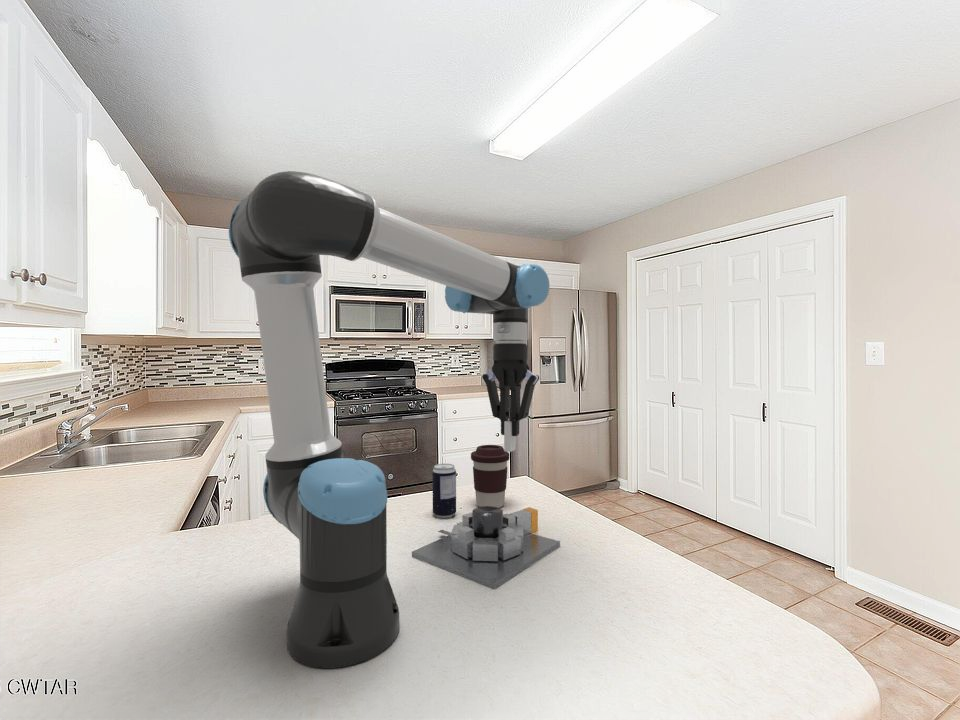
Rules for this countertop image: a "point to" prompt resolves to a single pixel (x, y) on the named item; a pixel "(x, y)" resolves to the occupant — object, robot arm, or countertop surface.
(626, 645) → the countertop surface
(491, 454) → the coffee cup
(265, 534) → the countertop surface
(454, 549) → the segmented block ring
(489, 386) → the robot arm
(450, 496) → the beverage can
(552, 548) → the flange plate
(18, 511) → the countertop surface
